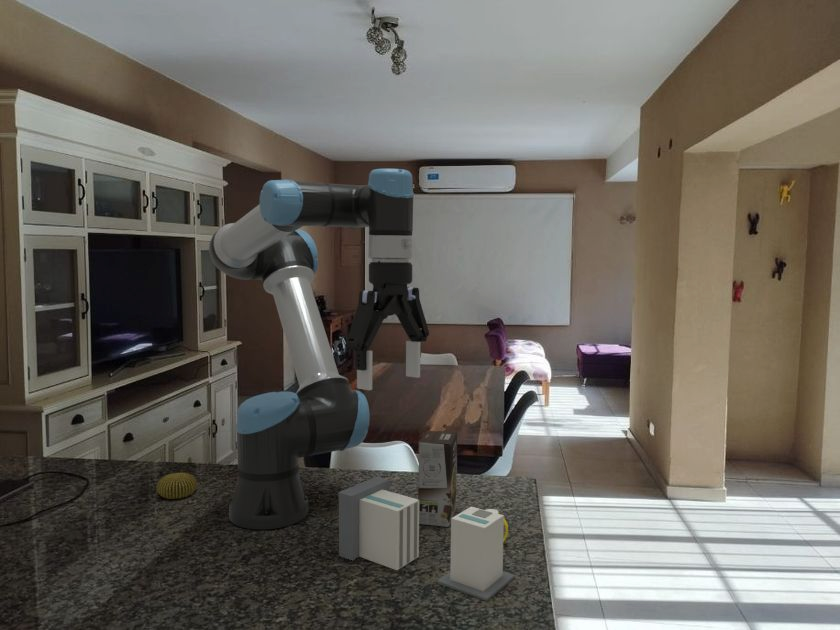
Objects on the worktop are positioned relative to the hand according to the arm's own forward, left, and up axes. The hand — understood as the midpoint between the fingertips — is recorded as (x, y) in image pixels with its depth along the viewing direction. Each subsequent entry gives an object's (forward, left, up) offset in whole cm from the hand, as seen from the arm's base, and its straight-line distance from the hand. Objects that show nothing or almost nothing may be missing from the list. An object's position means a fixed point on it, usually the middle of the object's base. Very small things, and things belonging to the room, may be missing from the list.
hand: (389, 382), depth 116 cm
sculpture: (-50, -9, -29) cm, 58 cm away
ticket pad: (+2, -5, -29) cm, 29 cm away
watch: (+15, +10, -29) cm, 34 cm away
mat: (+20, -3, -29) cm, 35 cm away
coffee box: (+1, +14, -29) cm, 32 cm away
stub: (+20, -3, -28) cm, 35 cm away
